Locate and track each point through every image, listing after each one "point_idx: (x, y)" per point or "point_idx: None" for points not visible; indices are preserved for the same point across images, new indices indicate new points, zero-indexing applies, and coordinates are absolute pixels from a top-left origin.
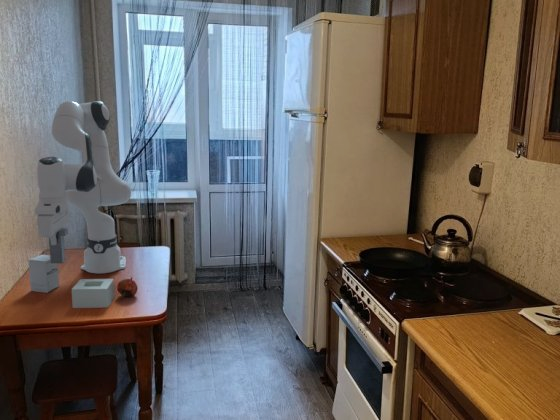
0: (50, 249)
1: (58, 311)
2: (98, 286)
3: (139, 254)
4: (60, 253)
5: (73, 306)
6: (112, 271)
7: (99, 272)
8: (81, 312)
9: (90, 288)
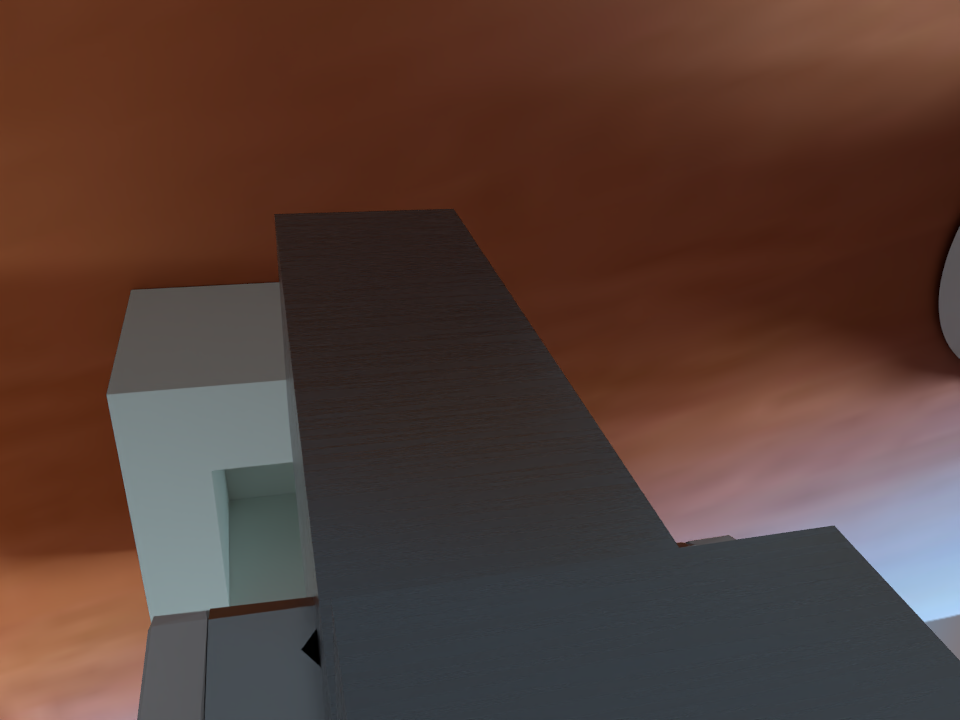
0: (293, 392)
1: (26, 180)
2: (224, 600)
3: None
4: (299, 527)
5: (131, 303)
6: (949, 344)
7: (956, 256)
8: (36, 396)
9: (159, 558)
